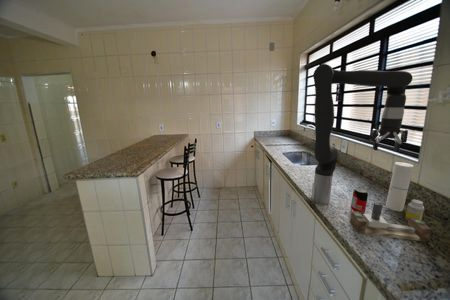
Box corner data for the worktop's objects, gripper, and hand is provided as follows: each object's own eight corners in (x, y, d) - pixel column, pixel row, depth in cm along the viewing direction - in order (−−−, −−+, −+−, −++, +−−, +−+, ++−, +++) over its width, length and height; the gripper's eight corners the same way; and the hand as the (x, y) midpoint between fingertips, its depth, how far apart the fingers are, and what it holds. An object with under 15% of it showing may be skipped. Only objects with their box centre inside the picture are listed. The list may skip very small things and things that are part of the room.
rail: (356, 232, 84) (359, 220, 83) (349, 221, 92) (351, 210, 90) (427, 241, 78) (431, 228, 77) (414, 229, 86) (417, 217, 84)
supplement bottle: (411, 216, 95) (416, 198, 93) (423, 223, 90) (429, 204, 88) (401, 217, 95) (406, 198, 92) (413, 224, 90) (418, 204, 87)
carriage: (368, 226, 84) (372, 207, 81) (362, 218, 89) (365, 200, 87) (387, 228, 82) (391, 208, 80) (379, 220, 88) (383, 201, 85)
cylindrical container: (396, 212, 99) (407, 167, 93) (382, 205, 106) (391, 162, 99) (406, 210, 101) (417, 165, 95) (391, 203, 108) (401, 161, 101)
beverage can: (365, 215, 97) (369, 194, 94) (350, 211, 100) (354, 191, 97) (364, 209, 102) (367, 189, 99) (350, 206, 105) (353, 186, 102)
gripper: (378, 117, 87) (372, 151, 91) (416, 118, 84) (407, 153, 88) (370, 116, 94) (365, 148, 98) (404, 116, 91) (397, 149, 95)
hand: (385, 150), depth 93 cm, fingers open, 8 cm apart
